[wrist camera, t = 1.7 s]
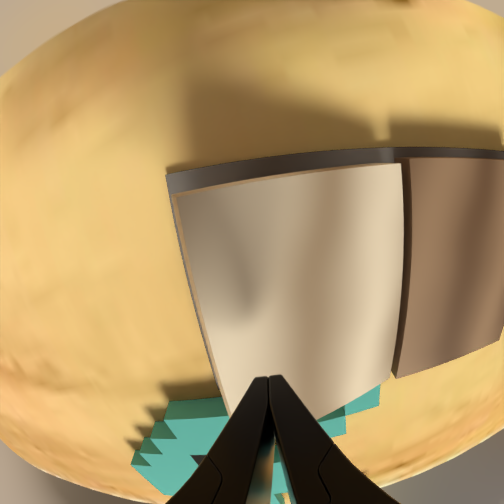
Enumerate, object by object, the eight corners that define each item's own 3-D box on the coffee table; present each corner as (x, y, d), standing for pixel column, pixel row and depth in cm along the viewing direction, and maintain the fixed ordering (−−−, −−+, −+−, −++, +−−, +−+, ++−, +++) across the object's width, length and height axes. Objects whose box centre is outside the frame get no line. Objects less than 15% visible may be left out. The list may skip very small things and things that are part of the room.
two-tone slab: (512, 152, 11) (530, 154, 10) (494, 324, 15) (507, 336, 13) (167, 174, 12) (154, 177, 11) (218, 386, 16) (215, 407, 15)
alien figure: (368, 360, 16) (98, 397, 18) (380, 383, 14) (87, 416, 16) (362, 480, 22) (192, 500, 24) (366, 495, 20) (189, 514, 22)
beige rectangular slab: (382, 162, 12) (406, 163, 11) (378, 362, 15) (394, 374, 14) (171, 194, 9) (176, 197, 8) (233, 430, 13) (243, 450, 11)
